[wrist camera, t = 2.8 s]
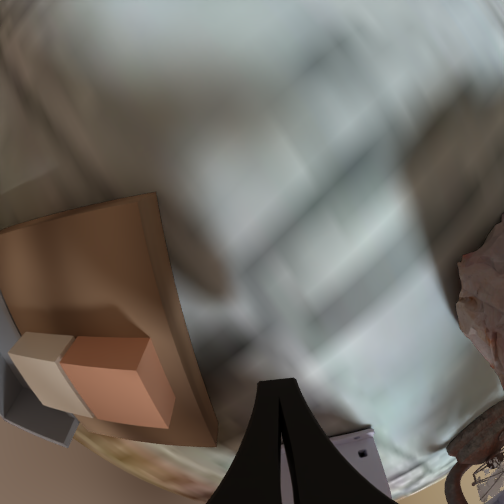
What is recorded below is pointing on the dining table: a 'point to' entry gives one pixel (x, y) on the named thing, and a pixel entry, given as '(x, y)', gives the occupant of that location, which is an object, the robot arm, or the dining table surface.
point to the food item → (484, 298)
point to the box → (27, 393)
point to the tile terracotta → (120, 380)
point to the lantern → (478, 455)
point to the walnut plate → (109, 300)
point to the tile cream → (48, 371)
